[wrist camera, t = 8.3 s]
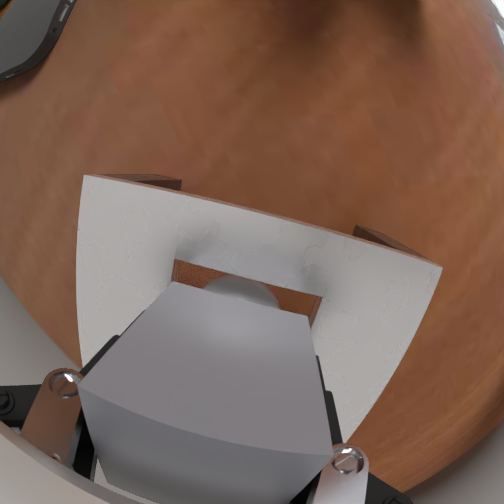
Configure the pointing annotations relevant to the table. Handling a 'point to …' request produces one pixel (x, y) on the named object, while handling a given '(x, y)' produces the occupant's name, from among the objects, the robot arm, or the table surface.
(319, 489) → the robot arm
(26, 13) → the media streaming box
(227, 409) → the peg
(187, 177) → the table surface
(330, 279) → the miniature table
